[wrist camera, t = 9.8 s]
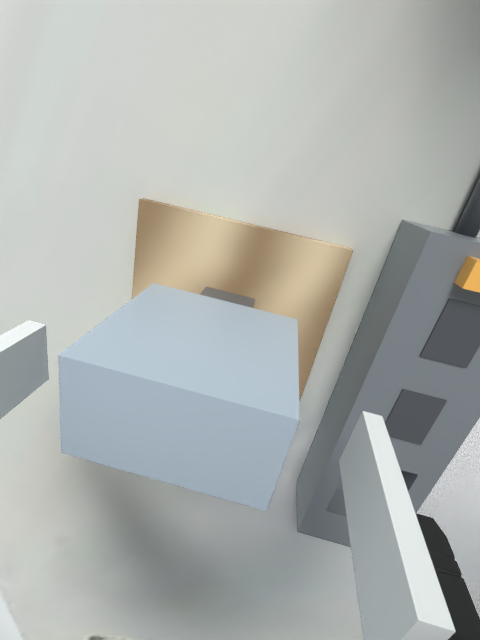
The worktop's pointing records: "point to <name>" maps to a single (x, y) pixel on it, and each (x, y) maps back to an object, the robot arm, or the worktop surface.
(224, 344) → the block
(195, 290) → the tan flat square block
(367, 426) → the robot arm
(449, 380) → the power strip
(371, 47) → the worktop surface
